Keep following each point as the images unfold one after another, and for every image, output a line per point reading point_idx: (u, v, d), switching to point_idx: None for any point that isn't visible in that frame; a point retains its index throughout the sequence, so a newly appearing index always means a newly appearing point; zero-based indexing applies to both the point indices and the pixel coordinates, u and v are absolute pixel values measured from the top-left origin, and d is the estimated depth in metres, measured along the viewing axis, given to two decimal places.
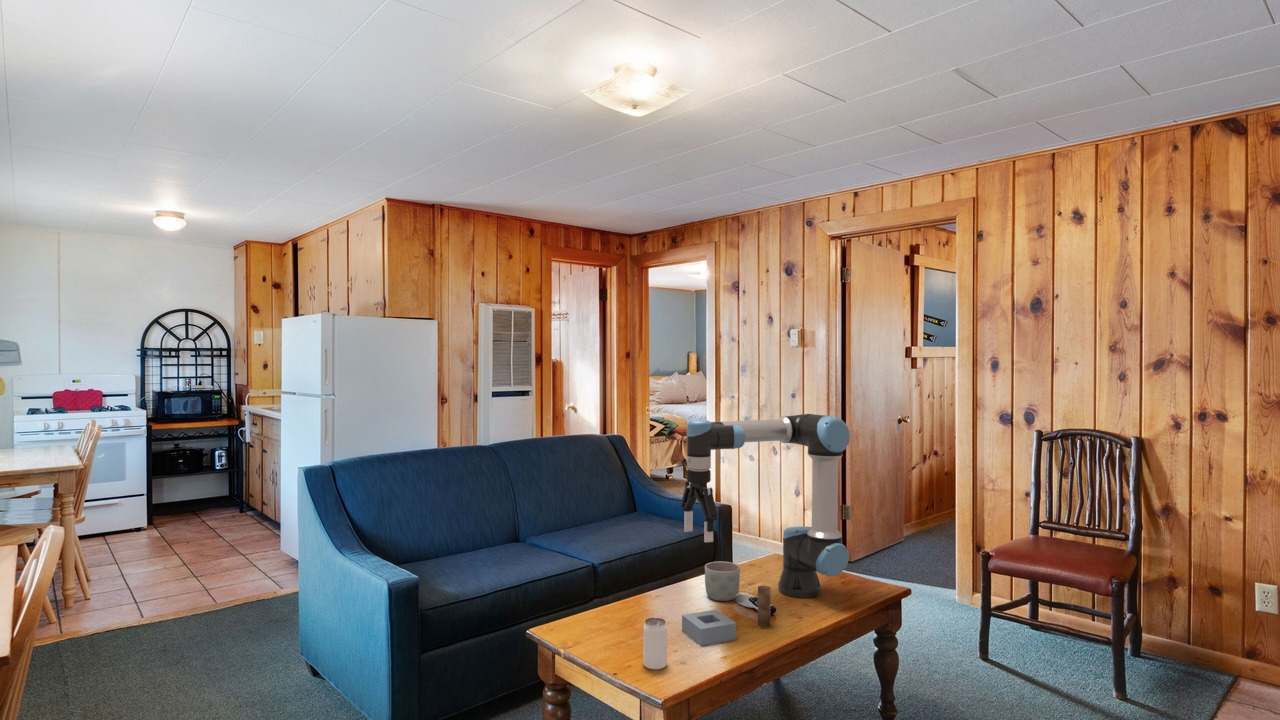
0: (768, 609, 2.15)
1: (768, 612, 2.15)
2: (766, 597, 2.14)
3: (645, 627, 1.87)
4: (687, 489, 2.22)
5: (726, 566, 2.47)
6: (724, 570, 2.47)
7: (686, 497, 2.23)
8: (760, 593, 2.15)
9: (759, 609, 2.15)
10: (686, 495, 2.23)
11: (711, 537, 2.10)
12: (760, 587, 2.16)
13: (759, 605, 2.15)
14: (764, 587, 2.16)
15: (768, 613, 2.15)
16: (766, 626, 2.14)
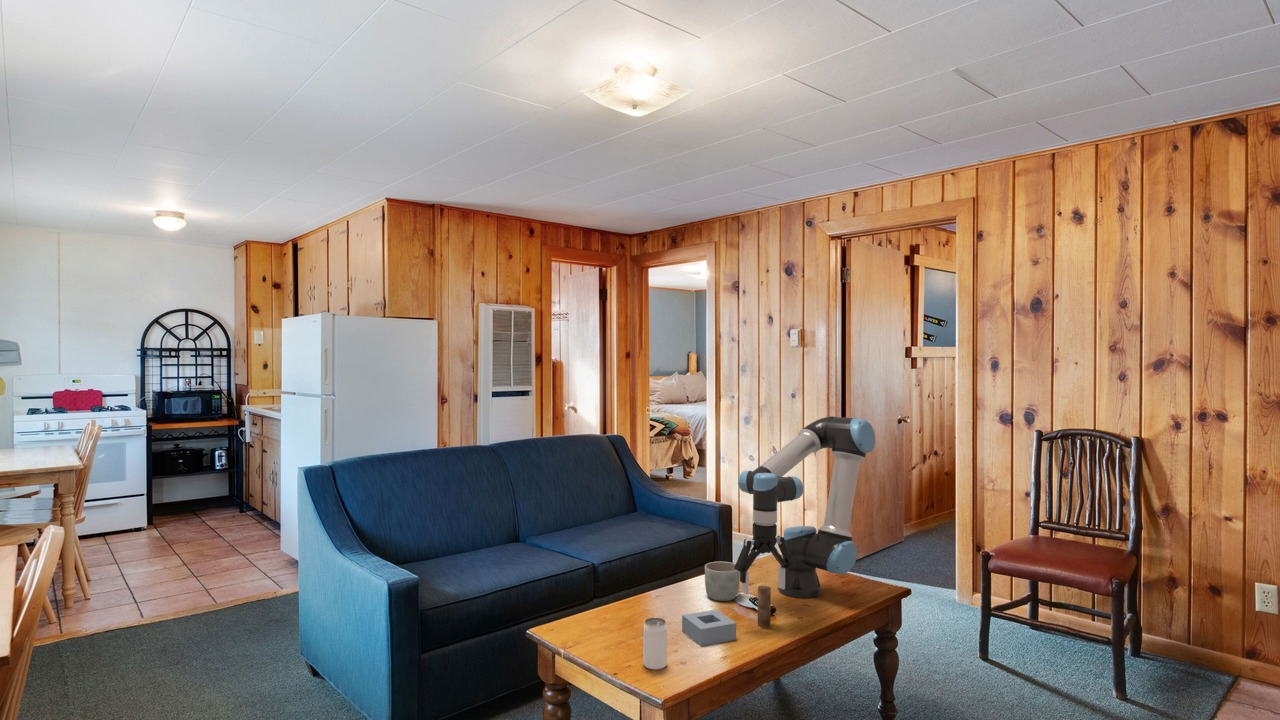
0: (768, 609, 2.15)
1: (768, 612, 2.15)
2: (766, 597, 2.14)
3: (645, 627, 1.87)
4: (778, 544, 2.19)
5: (726, 566, 2.47)
6: (724, 570, 2.47)
7: (782, 552, 2.20)
8: (760, 593, 2.15)
9: (759, 609, 2.15)
10: (781, 550, 2.20)
11: (745, 589, 2.12)
12: (760, 587, 2.16)
13: (759, 605, 2.15)
14: (764, 587, 2.16)
15: (768, 613, 2.15)
16: (766, 626, 2.14)
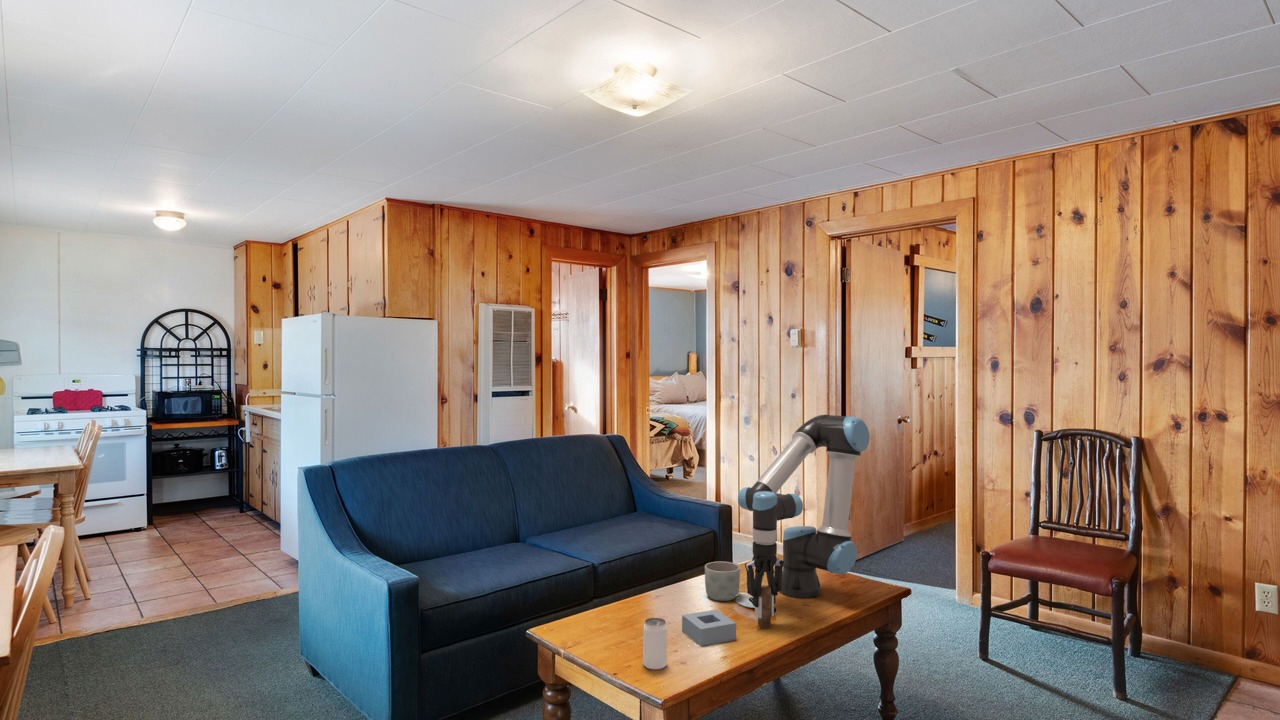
0: (768, 609, 2.15)
1: (768, 612, 2.15)
2: (766, 596, 2.14)
3: (645, 627, 1.87)
4: (775, 566, 2.19)
5: (726, 566, 2.47)
6: (724, 570, 2.47)
7: (775, 576, 2.19)
8: (760, 593, 2.15)
9: None
10: (775, 573, 2.19)
11: (758, 613, 2.15)
12: None
13: None
14: (764, 587, 2.16)
15: (768, 613, 2.15)
16: (766, 626, 2.14)
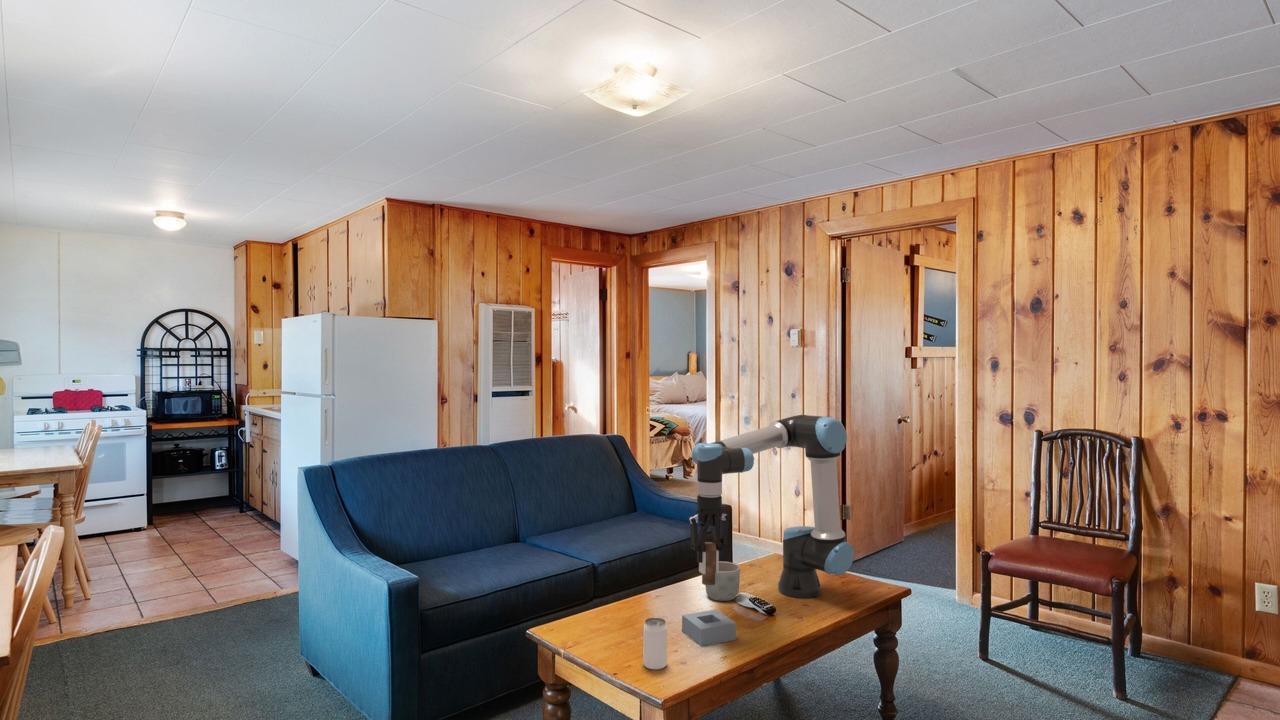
0: (712, 566, 2.06)
1: (712, 569, 2.06)
2: (710, 553, 2.06)
3: (645, 627, 1.87)
4: (721, 521, 2.11)
5: (726, 566, 2.47)
6: (724, 570, 2.47)
7: (721, 531, 2.10)
8: (704, 549, 2.07)
9: None
10: (721, 529, 2.11)
11: (702, 569, 2.06)
12: (705, 543, 2.08)
13: None
14: (709, 543, 2.08)
15: (712, 570, 2.06)
16: (710, 583, 2.06)
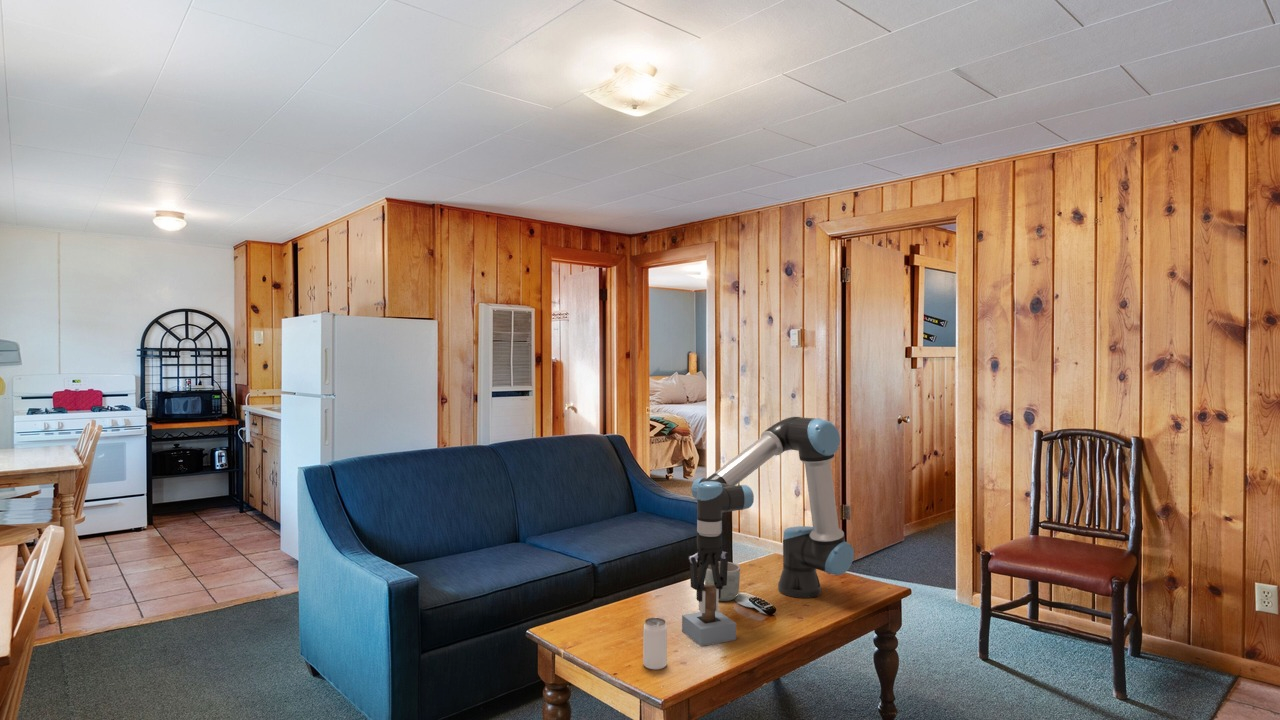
0: (712, 609, 2.06)
1: (712, 612, 2.06)
2: (710, 596, 2.06)
3: (645, 627, 1.87)
4: (721, 559, 2.11)
5: None
6: None
7: (721, 569, 2.11)
8: None
9: None
10: (720, 567, 2.11)
11: (702, 608, 2.06)
12: (704, 586, 2.08)
13: None
14: (708, 586, 2.08)
15: (712, 613, 2.06)
16: None
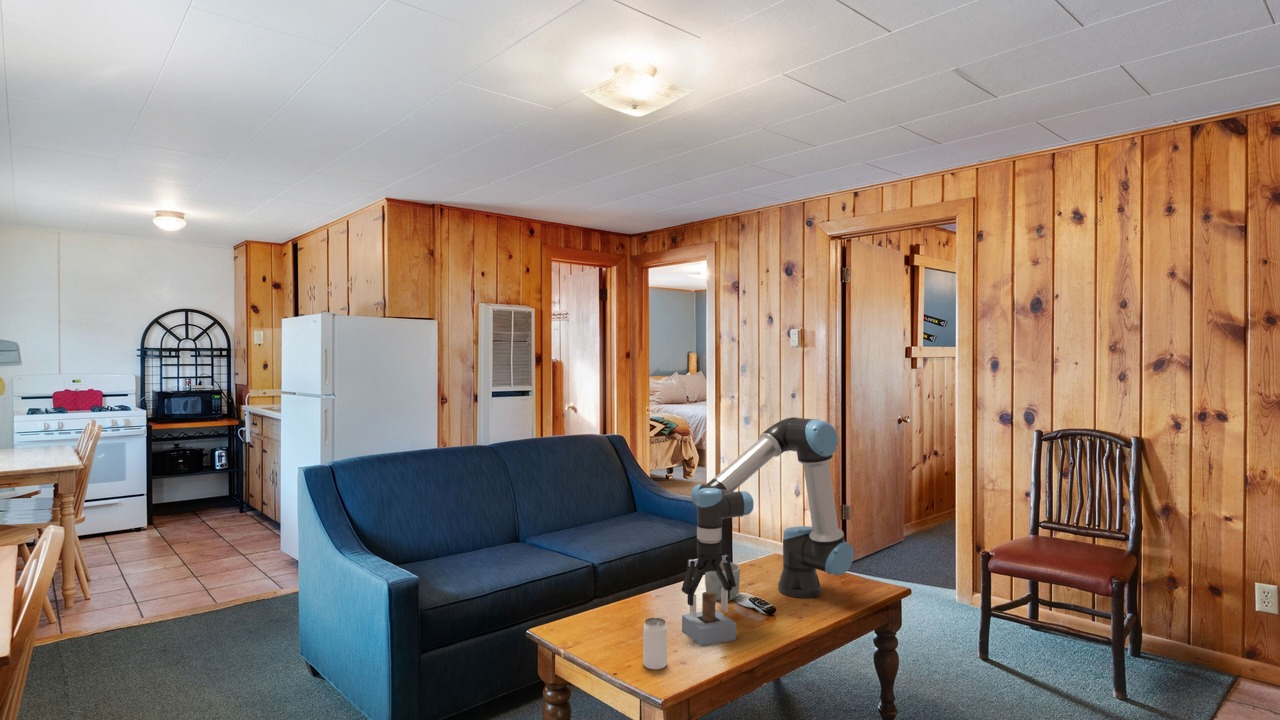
0: (712, 616, 2.07)
1: (712, 619, 2.07)
2: (710, 603, 2.06)
3: (645, 627, 1.87)
4: (723, 563, 2.11)
5: None
6: (724, 570, 2.47)
7: (726, 572, 2.11)
8: (704, 600, 2.07)
9: (703, 616, 2.07)
10: (725, 570, 2.11)
11: (693, 612, 2.05)
12: (704, 593, 2.08)
13: (703, 612, 2.07)
14: (709, 593, 2.08)
15: (712, 620, 2.07)
16: None
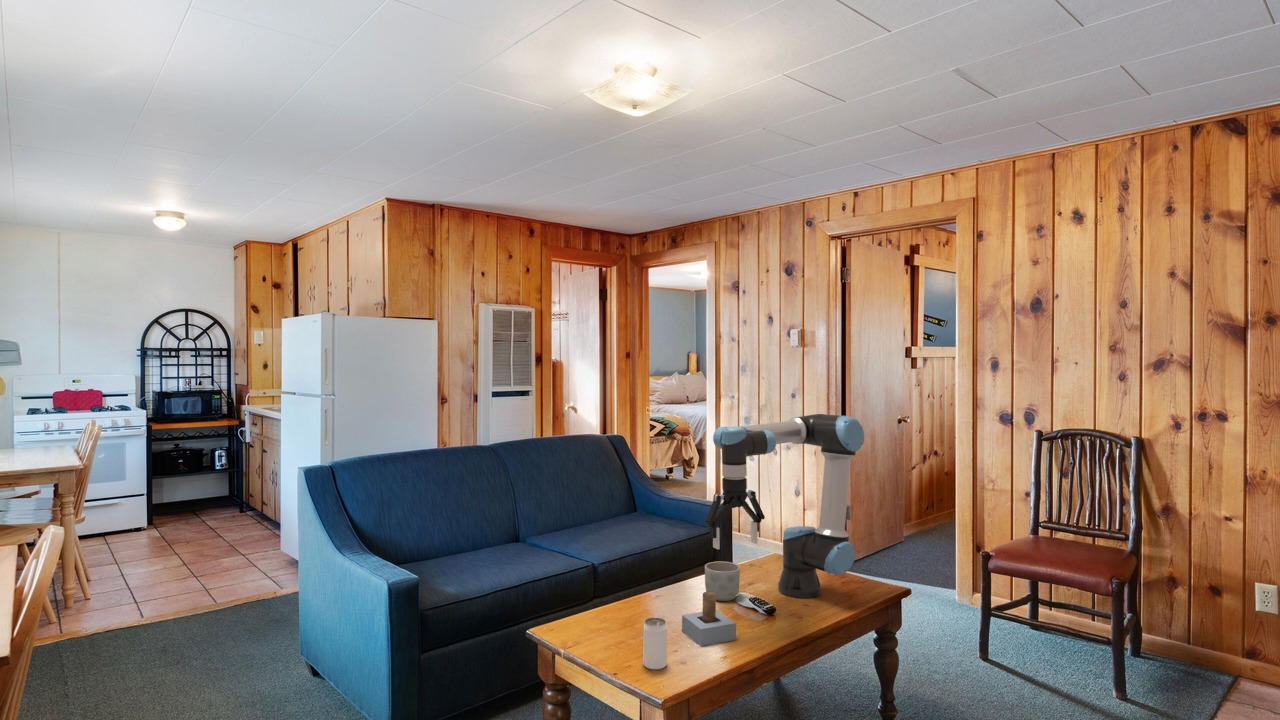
0: (713, 616, 2.07)
1: (712, 619, 2.07)
2: (711, 603, 2.06)
3: (645, 627, 1.87)
4: (749, 498, 2.16)
5: (726, 566, 2.47)
6: (724, 570, 2.47)
7: (753, 507, 2.16)
8: (704, 600, 2.07)
9: (703, 616, 2.07)
10: (752, 504, 2.16)
11: (716, 544, 2.09)
12: (705, 593, 2.08)
13: (703, 612, 2.07)
14: (709, 593, 2.08)
15: (712, 620, 2.07)
16: None
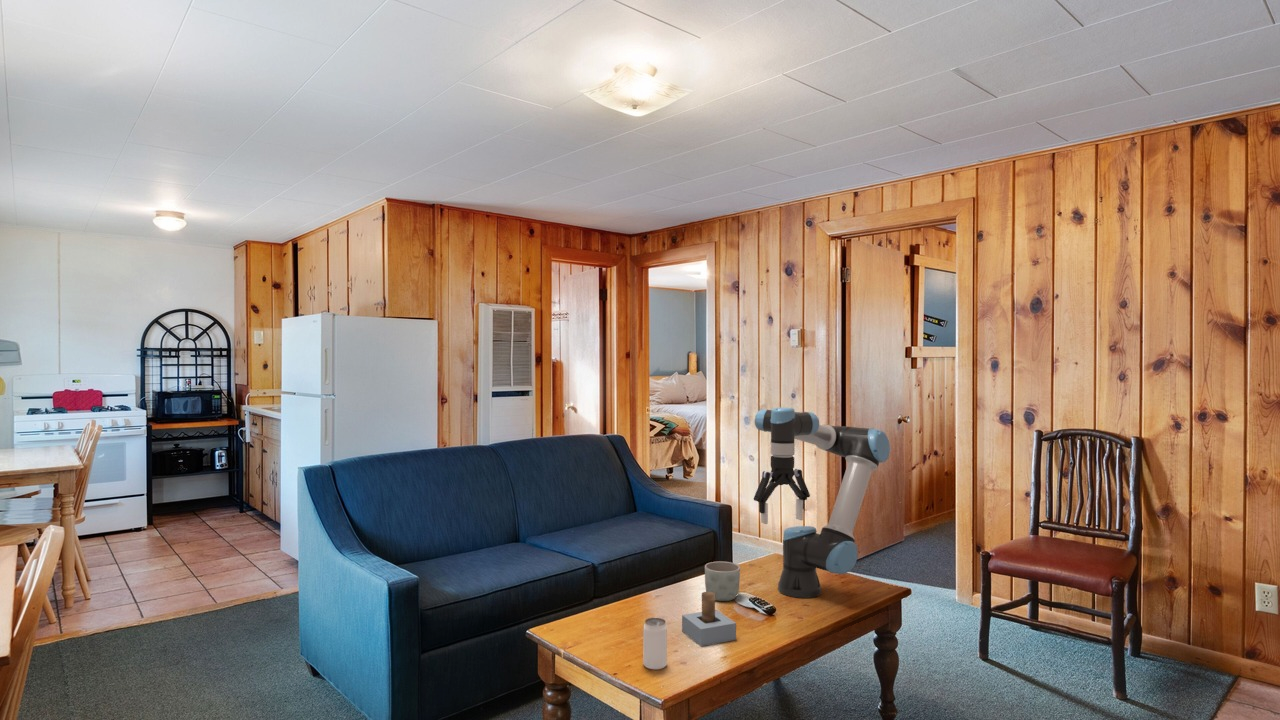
0: (712, 616, 2.07)
1: (712, 619, 2.07)
2: (709, 603, 2.06)
3: (645, 627, 1.87)
4: (795, 476, 2.24)
5: (726, 566, 2.47)
6: (724, 570, 2.47)
7: (799, 485, 2.25)
8: (703, 600, 2.07)
9: (703, 616, 2.07)
10: (798, 483, 2.25)
11: (764, 519, 2.18)
12: (704, 593, 2.08)
13: (703, 612, 2.07)
14: (708, 593, 2.08)
15: (712, 620, 2.07)
16: None
